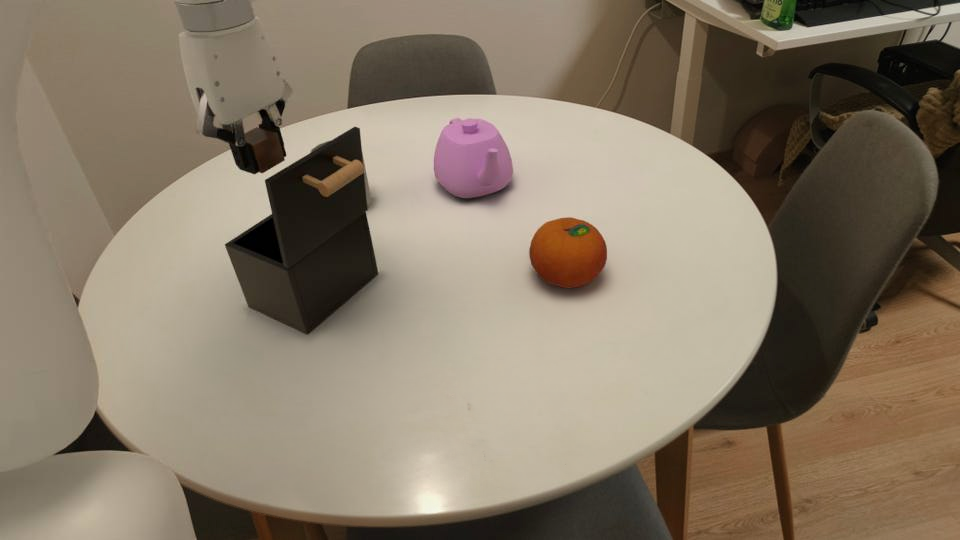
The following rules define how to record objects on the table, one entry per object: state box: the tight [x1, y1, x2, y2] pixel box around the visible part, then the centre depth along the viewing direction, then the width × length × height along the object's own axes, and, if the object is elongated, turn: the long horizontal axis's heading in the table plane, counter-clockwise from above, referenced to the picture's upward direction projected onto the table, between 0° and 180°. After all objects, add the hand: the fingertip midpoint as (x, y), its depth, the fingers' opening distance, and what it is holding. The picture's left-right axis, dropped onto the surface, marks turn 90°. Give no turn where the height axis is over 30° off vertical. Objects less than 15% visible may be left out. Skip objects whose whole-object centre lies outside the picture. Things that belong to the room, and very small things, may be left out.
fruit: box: [528, 216, 608, 289], centre depth 86 cm, size 11×10×8 cm
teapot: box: [433, 117, 514, 199], centre depth 106 cm, size 20×13×12 cm, turn 23°
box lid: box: [264, 126, 369, 269], centre depth 75 cm, size 12×15×5 cm
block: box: [244, 126, 286, 174], centre depth 78 cm, size 4×4×4 cm
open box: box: [224, 211, 379, 335], centre depth 86 cm, size 12×15×11 cm
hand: (262, 161), depth 79 cm, fingers closed on block, 3 cm apart
